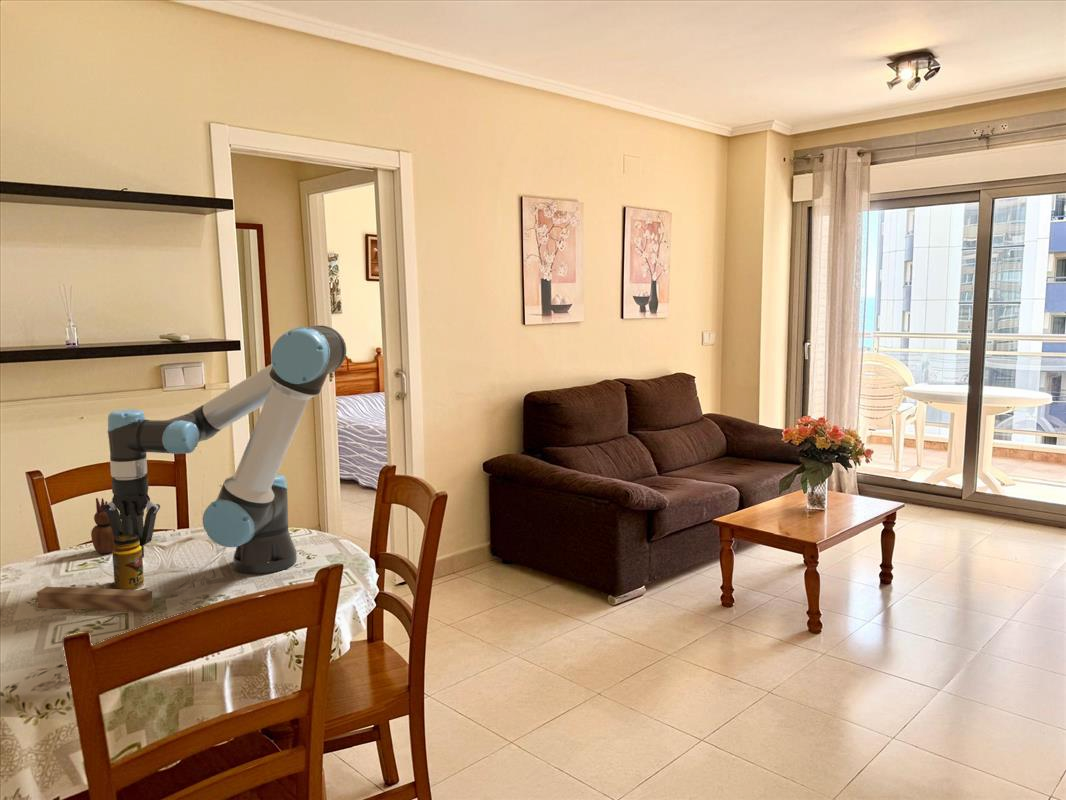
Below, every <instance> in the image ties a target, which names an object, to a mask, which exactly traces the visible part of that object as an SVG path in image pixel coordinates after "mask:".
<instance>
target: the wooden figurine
mask: <svg viewBox="0 0 1066 800" xmlns="http://www.w3.org/2000/svg"><path fill="white" fill-rule="evenodd" d="M100 502H101V503H100ZM108 503H109V502H108V501H104V498H101V501H99V498H98V497H96V498H95V507H96V512H95V514H94V515H93V516H94V517H93V520H94V523H95V524H96V525H95V526H93V528H92V529H91V532H90V535H91V536H90V537H91V543H92V545H93V548H94V550H95V551H96V552H97V554H112V552H113V549H114V547H113V546H114V542H113V541H114V539H115V538H114V535H113V532H112V528H111V525H110V522H109V518H108V515H107V513H106V512H105V511H104V509H103V505H105V504H108Z"/></svg>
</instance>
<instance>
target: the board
mask: <svg viewBox="0 0 1066 800" xmlns="http://www.w3.org/2000/svg"><path fill="white" fill-rule="evenodd" d="M36 597H37V598H36V599H37V608H49V609H67V610H68V609H69V610H71V609H74V610H91V611H92V610H93V611H94V610H96V611H99V610H100V611H120V612H121V611H122V612H123V611H124V612H145V613H146V612H147V611H149V610H150V609H151V608H152V607H153V606H154V601H153V598H154V597H153V590H145V589H140V590H122V589H104V588H91V587H88V588H87V587H84V588H83V587H67V586H66V587H65V586H44V587H43V588H42V589H40V590H38V591H36Z"/></svg>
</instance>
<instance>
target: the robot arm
mask: <svg viewBox="0 0 1066 800" xmlns="http://www.w3.org/2000/svg"><path fill="white" fill-rule="evenodd" d="M346 357H347V346H346V341H345V339H344V337H343V336H342V335H341V334H340V333H339V331H337V330H336V329H334V328H332V327H330V326H326V325H313V326H309V327H306V326H304V327H296V328H293V329H291V330H288V331H287V332H285V333H283V334H282V335H280V336H279V337H278V338H277V339H276V341H275V342H274V344H273V347H272V349H271V352H270V362H271V363H270V364H268V365H267V366H265V367H264V368H262V369H260V370H259V371H257V372H255V373H254V374H252V375H249V377H247V378H246V379H244V380H242V381H240V382H239V383H237V384H236V385H234V386H232V387H231V388H229V389H227V390H226V391H223V392H222V393H221V394H219V395H218V396H217V395H216V397H214V398H212V399H211V400H209V401H207V402H206V403H204V404H202V405H200V406H199V407H197V408H195V409H193V410H192V411H190V412H188V413H185V414H183V415H179V416H176V417H173V418H169V419H165V420H159V419H158V420H157V419H155V420H154V419H153V420H152V419H146V417H145V413H144V411H143V410H141V409H130V408H129V409H118V410H115V411H112V412H110V413H109V414H108V417H107V435H108V436H107V437H108V443H109V452H110V453H109V457H110V459H109V461H110V462H109V464H110V465H109V466H110V476H111V477H112V479H111V491H112V492H111V493H112V494H113V496H112V498H111V501H110V502H107V503H108V504H105V503H104V504H105V505H103V509H104V511H105V512H106V513H107V515H108V518H109V522H110V525H111V528H112V532H113V535H114V538H116V537H118V536H120V535H125V534H136V535H138V536H139V542H140V544H139V545H140V546H141V547H142V559H143V558H144V557H145V548H144V547H145V545H147V544H149V543H151V542H152V540H153V535H154V531H155V530H154V529H155V525H156V518H157V514H158V512H159V510H160V509H161V505H160V504H159V503H156V504H155V503H153V502H152V501H151V498H150V496H149V494H148V492H149V476H148V475H147V473H148V463H147V462H148V461H147V453H154V454H157V453H158V454H159V453H160V454H174V455H181V454H182V455H183V454H191V453H193V452H194V450H195V449H196V448H197V447H198V444H199V443H200V442H203V441H207V440H209V439H211V438H213V437H214V436H216V435H217V433H219V432H221V430H223V429H225V428H227V427H229V426H230V425H232V424H234V423H235V422H237V421H239V420H240V419H242V418H243V417H246V416H247V415H249V414H250V413H253V412H254V411H256V410H257V409H260V408H261V407H262V409H261V410H260V414H259V416H258V418H257V421H256V423H255V425H254V428H253V430H252V433H251V435H250V437H249V440H248V441H247V445H246V447H245V450H244V452H243V454H242V457H241V459H240V461H239V463H238V466H237V467H236V471H235V473H234V474H233V475H231V476H228V477H227V478H225V480H224V481H223V484H222V486H221V488H220V491H219V493H218V495H217V497H216V499H215V500H214V501H212V502H210V504H209V505H208V506H207V507H206V508H205V510H204V512H203V514H202V526H203V528H204V529H203V530H205V533H206V535H207V536H208V538H209V539H211V541H213V542H214V543H215V544H217V545H219V546H222V547H225V548H235V551H234V553H233V559H232V560H233V561H232V562H233V563H232V564H233V568H234V570H235V571H237V572H241V573H244V574H255V575H256V574H258V575H260V574H268V573H274V572H280V571H282V570H286V569H288V568H290V567H291V566H293V565H295V564H296V562H297V549H296V548H295V547H296V546H295V544H294V543H293V539H292V537H291V535H290V532H289V510H288V509H289V507H288V506H289V505H288V490H289V488H288V484H287V478H286V477H285V476H284V475H282V474H279V470H280V469H281V466H282V464H283V461H284V459H285V456H286V454H287V452H288V450H289V447H290V445H291V443H292V441H293V438H294V436H295V433H296V431H297V429H298V426H299V425H300V422H301V420H302V417H303V414H304V413H305V411H306V407H307V405H308V403H309V401H310V399H312V398H314V397H317V396H320V393H321V391H322V388H323V386H324V383H325V381H326V379H327V377H328V375H330V374H332V373H334V372H336V371H337V370H339V368H340V367H341V366H342V365H343V363H344V362H345V360H346ZM145 512H146V513H145ZM144 516H145V518H144Z"/></svg>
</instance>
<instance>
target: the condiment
mask: <svg viewBox="0 0 1066 800" xmlns="http://www.w3.org/2000/svg"><path fill="white" fill-rule="evenodd" d="M113 542H114V546H113V547H114V549H113V552H111V554H112V565H113V580H114V581H113V582H106V583H103V589H122V590H145V589H147V588H148V586H147V582H146V579H145V577H144V565H143V564H144V563H143V558H142V547H141V546H140V545H139V544H140V542H139V536H138V535H136V534H125V535H120V536H118V537H116V538H115V539H114V541H113Z"/></svg>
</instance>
